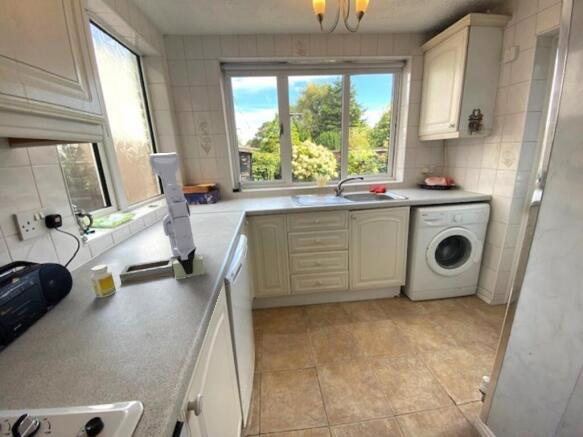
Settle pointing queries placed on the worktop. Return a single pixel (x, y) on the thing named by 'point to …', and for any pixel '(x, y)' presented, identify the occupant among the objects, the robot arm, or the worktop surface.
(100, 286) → the supplement bottle
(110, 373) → the worktop surface
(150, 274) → the frame
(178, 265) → the door panel
